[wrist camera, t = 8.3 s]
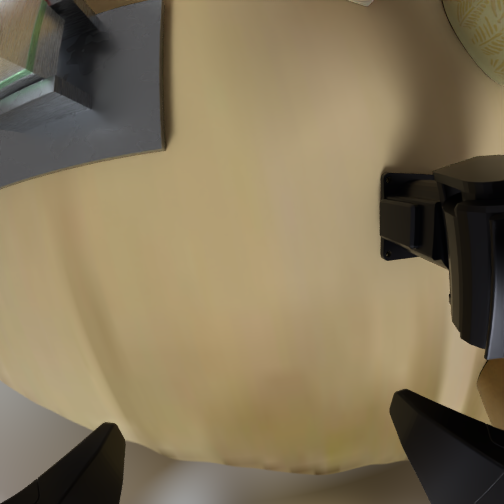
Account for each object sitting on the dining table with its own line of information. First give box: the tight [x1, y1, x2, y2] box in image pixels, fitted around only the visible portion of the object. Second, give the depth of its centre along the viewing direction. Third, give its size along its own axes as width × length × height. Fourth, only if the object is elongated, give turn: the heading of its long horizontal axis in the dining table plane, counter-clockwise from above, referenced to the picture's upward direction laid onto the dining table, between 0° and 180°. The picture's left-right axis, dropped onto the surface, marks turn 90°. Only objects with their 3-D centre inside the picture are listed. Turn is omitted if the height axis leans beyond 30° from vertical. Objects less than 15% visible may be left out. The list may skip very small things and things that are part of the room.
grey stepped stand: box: [0, 0, 166, 189], centre depth 12 cm, size 16×12×7 cm
